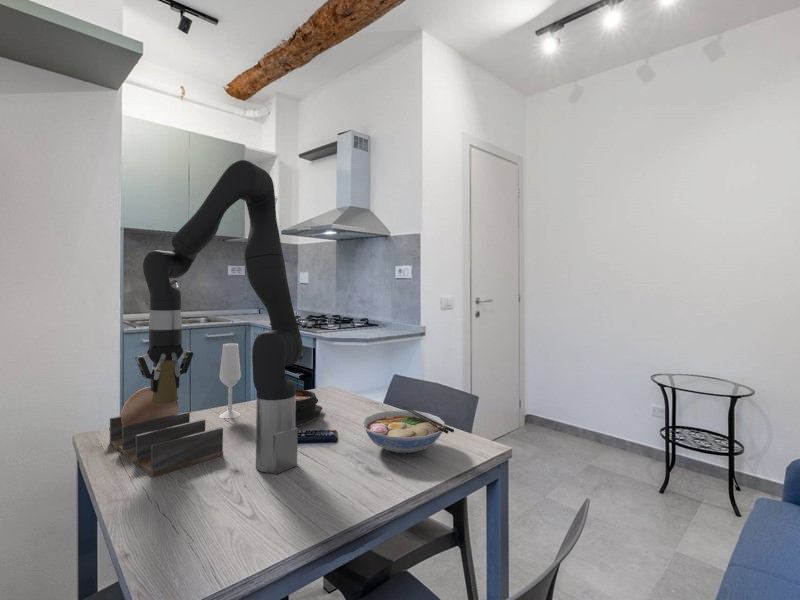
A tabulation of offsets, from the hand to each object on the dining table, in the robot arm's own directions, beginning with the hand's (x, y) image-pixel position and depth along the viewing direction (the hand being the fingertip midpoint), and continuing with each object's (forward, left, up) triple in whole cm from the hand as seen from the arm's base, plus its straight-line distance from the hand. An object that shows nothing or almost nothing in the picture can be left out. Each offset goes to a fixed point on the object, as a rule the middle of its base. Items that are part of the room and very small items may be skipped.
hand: (165, 391), depth 108 cm
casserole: (-5, -37, -16) cm, 40 cm away
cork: (0, 0, -3) cm, 3 cm away
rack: (0, 0, -15) cm, 15 cm away
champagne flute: (+14, -26, -16) cm, 33 cm away
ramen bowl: (-47, -43, -16) cm, 65 cm away
